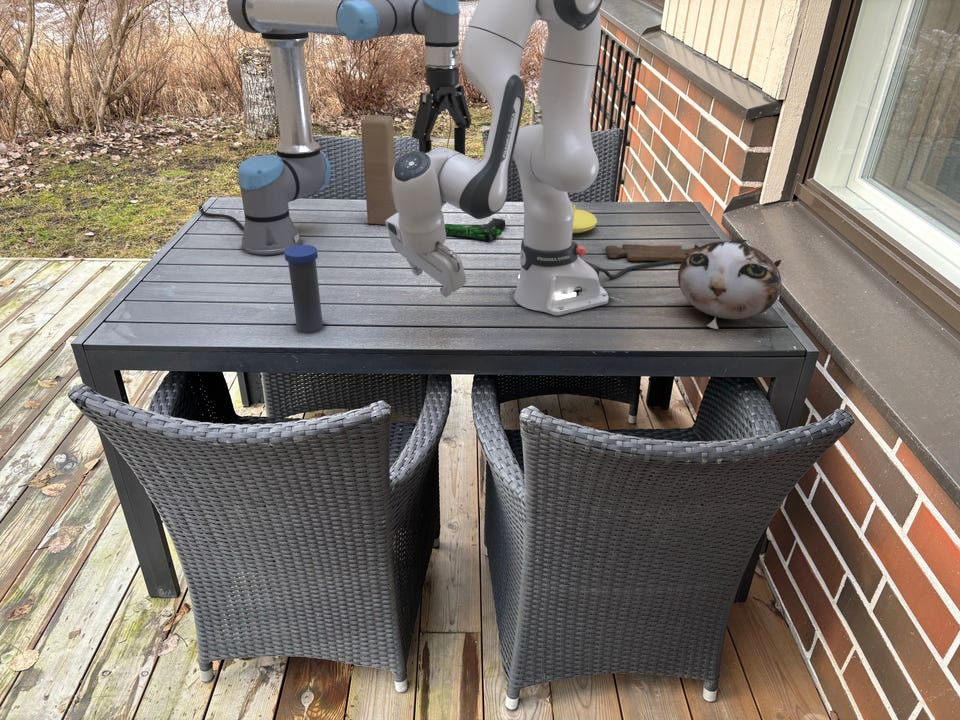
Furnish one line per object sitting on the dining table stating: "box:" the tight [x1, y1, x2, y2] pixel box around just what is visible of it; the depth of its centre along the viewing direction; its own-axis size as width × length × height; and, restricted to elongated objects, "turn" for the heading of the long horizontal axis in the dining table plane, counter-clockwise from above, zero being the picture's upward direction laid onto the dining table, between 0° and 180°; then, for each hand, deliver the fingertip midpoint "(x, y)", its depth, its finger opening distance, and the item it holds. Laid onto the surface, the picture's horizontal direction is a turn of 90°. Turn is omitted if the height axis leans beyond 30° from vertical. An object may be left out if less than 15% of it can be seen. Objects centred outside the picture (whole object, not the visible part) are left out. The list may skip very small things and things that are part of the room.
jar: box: [287, 259, 324, 334], centre depth 152 cm, size 6×6×17 cm
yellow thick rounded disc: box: [572, 204, 598, 234], centre depth 209 cm, size 16×16×7 cm
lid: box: [283, 244, 319, 264], centre depth 148 cm, size 7×7×2 cm
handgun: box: [444, 217, 506, 242], centre depth 207 cm, size 16×3×15 cm
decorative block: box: [360, 114, 398, 226], centre depth 206 cm, size 8×15×30 cm, turn 82°
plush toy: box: [677, 240, 783, 330], centre depth 159 cm, size 22×18×20 cm
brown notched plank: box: [605, 243, 694, 263], centre depth 194 cm, size 26×2×10 cm
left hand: (443, 161), depth 169 cm, fingers open, 13 cm apart
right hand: (431, 283), depth 151 cm, fingers open, 8 cm apart
